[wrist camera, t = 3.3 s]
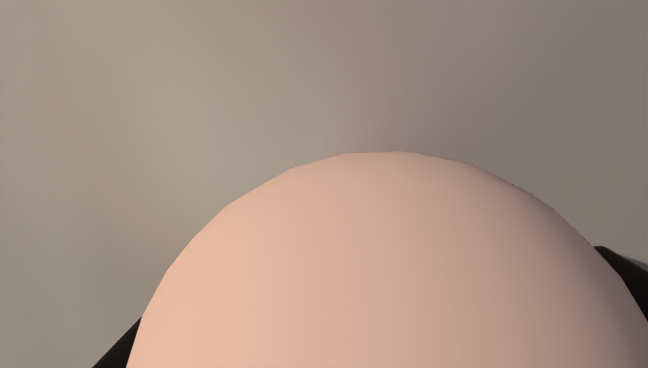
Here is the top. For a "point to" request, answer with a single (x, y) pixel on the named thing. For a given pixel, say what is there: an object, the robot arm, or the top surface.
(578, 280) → the egg
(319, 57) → the top surface
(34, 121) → the top surface
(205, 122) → the top surface
